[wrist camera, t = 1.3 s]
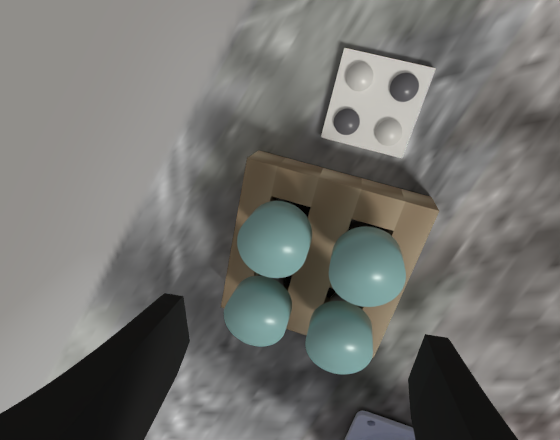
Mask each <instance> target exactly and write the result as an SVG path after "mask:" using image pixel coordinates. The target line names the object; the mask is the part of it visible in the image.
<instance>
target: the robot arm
mask: <svg viewBox="0 0 560 440" xmlns="http://www.w3.org/2000/svg"><path fill="white" fill-rule="evenodd" d="M189 341H190V340H189V333H188V326H187V319H186V312H185V305H184V298H183V296H178V295H172V294H166V293H165V294H163V295H162V296H161V297H159V298H158V299H157V300H156V301H155V302H153V303H152V304H151V305H150V306H149V307H147V308H146V309H145V310H144V311H143V312H141V313H140V314H139V315H138V316H137V317H135V318H134V319H133V320H132V321H131V322H129V323H128V324H127V325H126V326H125V327H123V328H122V329H121V330H120V331H118V332H117V333H116V334H115V335H113V336H112V337H111V338H110V339H108V340H107V341H106V342H105V343H103V344H102V345H101V346H100V347H98V348H97V349H96V350H94V351H93V352H92V353H90V354H89V355H88V356H86V357H85V358H84V359H82V360H81V361H80V362H78V363H77V364H75V365H74V366H73V367H71V368H70V369H69V370H67V371H66V372H65V373H63V374H62V375H60V376H59V377H57V378H56V379H54V380H53V381H52V382H50V383H49V384H47V385H46V386H44V387H43V388H41V389H39V390H38V391H36V392H35V393H33V394H32V395H30V396H29V397H27V398H26V399H24V400H22V401H21V402H19V403H18V404H16V405H14V406H13V407H11V408H9V409H8V410H6V411H4V412H2V413H1V414H0V440H144V438H145V437H146V435H147V433H148V431H149V429H150V427H151V425H152V423H153V421H154V419H155V417H156V415H157V413H158V411H159V409H160V407H161V405H162V403H163V401H164V399H165V397H166V395H167V393H168V392H169V390H170V388H171V386H172V384H173V382H174V380H175V378H176V376H177V373H178V371H179V368H180V366H181V363H182V361H183V358H184V355H185V353H186V350H187V347H188V344H189ZM408 384H409V398H410V410H411V419H412V424H413V427H410V426H407V425H404V424H401V423H398V422H396V421H393V420H390V419H387V418H384V417H381V416H379V415H376V414H373V413H370V412H367V411H359V412H357V413H356V416H355V418H354V420H353V422H352V424H351V426H350V429H349V431H348V433H347V435H346V437H345V439H344V440H518V439H517V437H516V436H515V435H514V433H513V432H512V431H511V429H510V428H509V427H508V425H507V424H506V422H505V421H504V420H503V418H502V417H501V415H500V414H499V413H498V411H497V410H496V408H495V407H494V406H493V404H492V403H491V401H490V400H489V399H488V397H487V396H486V394H485V393H484V391H483V390H482V388H481V387H480V385H479V384H478V382H477V381H476V379H475V378H474V377H473V375H472V374H471V372H470V370H469V369H468V367H467V366H466V364H465V363H464V361H463V360H462V358H461V357H460V355H459V354H458V352H457V351H456V349H455V348H454V346H453V344H452V343H451V341H450V340H449V339H448V338H445V337H439V336H432V335H426V334H425V336H424V339H423V341H422V344H421V347H420V349H419V352H418V355H417V357H416V360H415V363H414V365H413V368H412V370H411V373H410V376H409V378H408ZM370 420H371V421H370Z"/></svg>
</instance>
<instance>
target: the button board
mask: <svg viewBox="0 0 560 440" xmlns="http://www.w3.org/2000/svg"><path fill="white" fill-rule="evenodd" d="M277 198H280V199H284V200H287V201H291V202H294V203H298V204H301V205H305V206H308V207H311V208H310V212H309V216H308V219H309V221H310V224H311V227H312V241H311V244H310V247H309V251H308V254H307V257H306V260H305V262H304V264H303V265H302V267H301V268H300V269H299V270H298V271H297V272H295V273H294V274H292V275H291V276H292V278H291V281H290V285H287V284H284V287H285V288H286V290H287V291H288V292H289V294H290V297H291V300H292V311H291V314H290V317H289V321H288V324H287V327H286V329H288V330H291V331H294V332H297V333H300V334H303V335H306V336H307V332H308V328H309V323H310V319H311V316H312V314H313V312H314V311H315V309H316V308H318V307H319V306H320V305H322V304H324V303H327V302H330V298H328V297H326V295H327V292H328V289H329V288H333V287H332V285H331V283H330V279H329V266H330V261H331V255H332V250H333V247H334V244H335V243H336V241H337V240H338V238H339V237H340V236H341V235H343V234H344V233H345V232H347V231H348V228H349V225H350V222H351V219H354V220H357V221H361V222H364V223H368V224H371V225H375V226H378V227H382V228H385V232H387V233H389V234H390V235H391V236H392V237H393V238H394V239H395V240H396V241H397V243H398V244H399V246H400V249H401V252H402V257H403V261H404V266H405V271H406V280H405V284H404V287H403V289H402V291H401V292H400V293H399V295H398V296H397V297H396V298H394V299H393V300H392V301H390V302H388V303H386V304H383V305H380V306H375V307H363V306H358V305H356V306H358V307H359V308H361V309H362V310H363V311H364V312H365V313H366V314H367V315H368V317H369V318H370V320H371V323H372V336H373V356H372V358H374V356H375V354H376V351H377V349H378V347H379V345H380V343H381V340H382V338H383V336H384V334H385V331H386V329H387V327H388V325H389V322H390V320H391V318H392V316H393V313H394V311H395V309H396V307H397V304H398V302H399V300H400V298H401V295H402V293H403V291H404V289H405V287H406V284H407V282H408V280H409V278H410V275H411V273H412V271H413V269H414V266H415V264H416V262H417V260H418V257H419V255H420V253H421V251H422V248H423V246H424V244H425V242H426V240H427V237H428V235H429V233H430V231H431V228H432V226H433V224H434V222H435V219H436V217H437V215H438V213H439V210H438V208H437V206H436V204H435V203H434V201H433V199H432V197H430V196H426V195H422V194H419V193H415V192H411V191H408V190H404V189H400V188H396V187H393V186H389V185H385V184H382V183H378V182H374V181H371V180H367V179H363V178H359V177H356V176H352V175H348V174H345V173H341V172H337V171H334V170H330V169H326V168H322V167H319V166H315V165H311V164H308V163H304V162H300V161H297V160H293V159H289V158H286V157H282V156H278V155H274V154H271V153H267V152H263V151H260V150H258V151H257V152H255V153H254V154H253V155H251V156H250V157H248V158H247V162H246V167H245V173H244V179H243V184H242V190H241V196H240V201H239V207H238V213H237V218H236V224H235V230H234V235H233V241H232V247H231V252H230V258H229V264H228V269H227V275H226V281H225V286H224V292H223V298H222V303H221V307H222V308H225V306H226V304H227V302H228V301H229V299H230V297H231V296H232V294H233V292H234V291H235V289H236V288H237V286H238V285H239V283H240V282H241V281H243V280H244V279H246V278H248V277H251V276H260V274H258V273H256V272H255V271H253V270H252V269H251V268H249V267H248V266H247V265H246V264H245V262H244V261H243V259H242V258H241V256H240V254H239V251H238V246H237V237H238V233H239V230H240V228H241V227H242V225H243V224H244V223H245V221H246V220H247V219H248V218H249V217H250V215H251V214H252V213H253V212H254V211H255V209H256V208H258V207H259V206H260V205H262V204H264V203H267V202H270V201H276V200H277Z"/></svg>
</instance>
